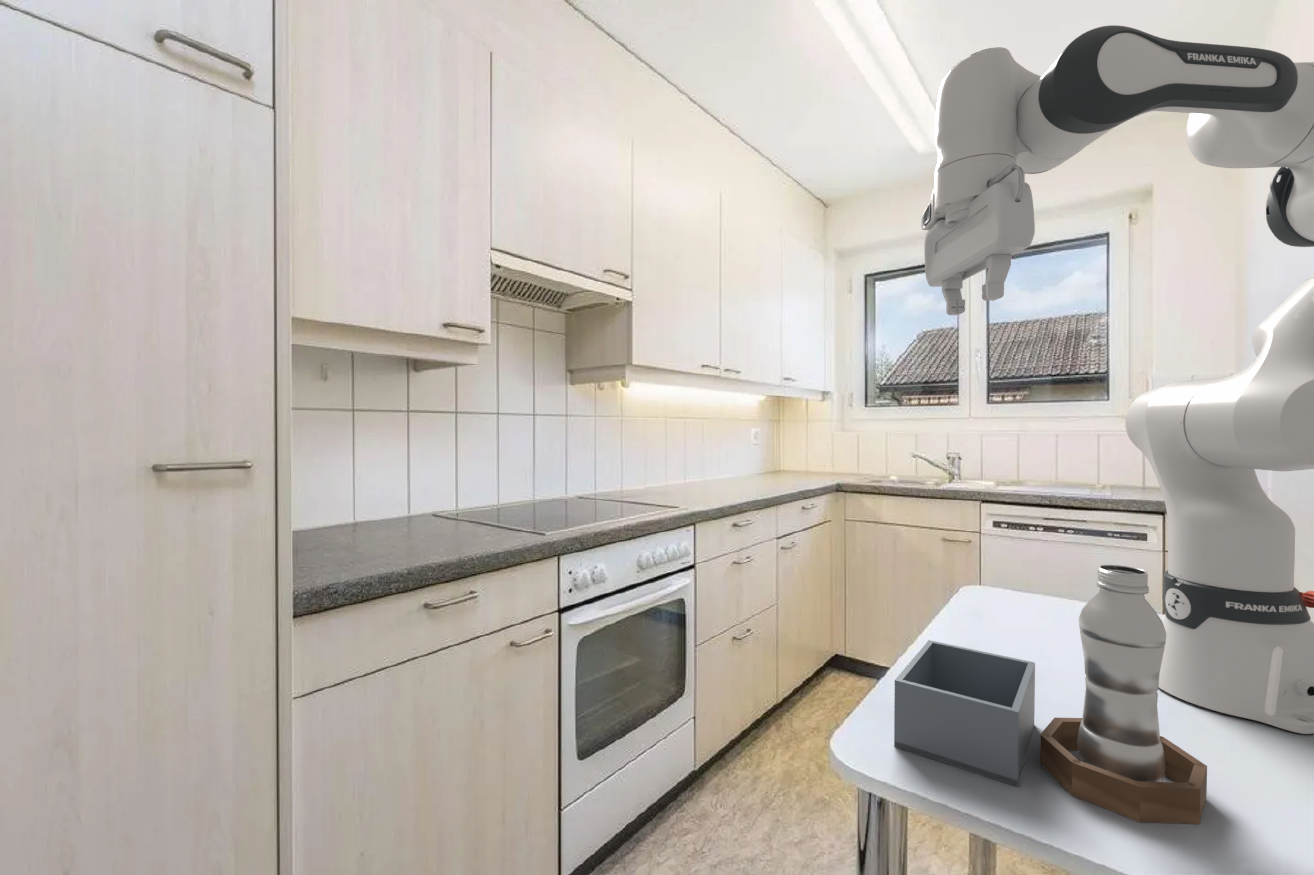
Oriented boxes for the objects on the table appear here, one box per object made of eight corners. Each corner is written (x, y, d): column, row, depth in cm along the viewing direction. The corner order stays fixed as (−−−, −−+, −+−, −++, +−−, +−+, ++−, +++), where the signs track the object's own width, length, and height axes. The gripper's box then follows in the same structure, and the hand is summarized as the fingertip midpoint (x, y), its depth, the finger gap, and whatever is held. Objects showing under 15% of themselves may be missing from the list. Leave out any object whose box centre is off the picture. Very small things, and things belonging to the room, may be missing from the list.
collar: (1136, 747, 61) (1137, 719, 60) (1242, 825, 49) (1243, 789, 49) (1020, 745, 61) (1020, 716, 61) (1097, 820, 50) (1098, 785, 49)
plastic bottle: (1113, 804, 52) (1116, 579, 51) (1060, 760, 58) (1062, 560, 58) (1185, 804, 52) (1190, 579, 51) (1124, 759, 58) (1127, 560, 58)
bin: (928, 696, 72) (928, 640, 72) (1034, 724, 65) (1035, 662, 65) (894, 746, 61) (894, 680, 61) (1017, 786, 54) (1018, 712, 54)
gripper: (1053, 155, 61) (1051, 287, 62) (962, 221, 82) (961, 320, 82) (991, 157, 62) (989, 289, 62) (916, 222, 82) (915, 321, 83)
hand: (972, 307), depth 72 cm, fingers open, 8 cm apart
